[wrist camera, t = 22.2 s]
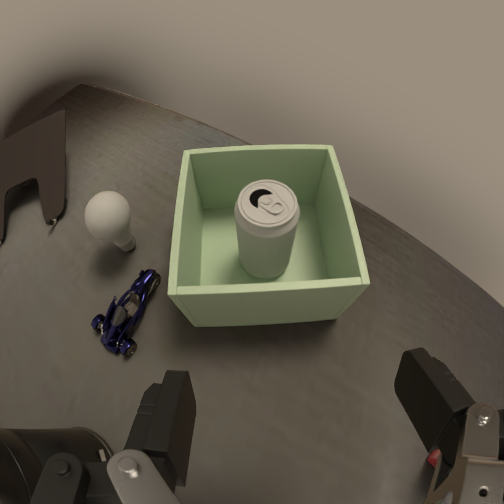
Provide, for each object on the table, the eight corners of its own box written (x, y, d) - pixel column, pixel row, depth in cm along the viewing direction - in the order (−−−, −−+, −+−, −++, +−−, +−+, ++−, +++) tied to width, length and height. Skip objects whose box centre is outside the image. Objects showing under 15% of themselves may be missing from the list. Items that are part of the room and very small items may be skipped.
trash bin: (194, 327, 34) (167, 295, 24) (199, 208, 43) (183, 150, 32) (337, 319, 35) (370, 283, 24) (317, 203, 43) (332, 144, 32)
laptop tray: (7, 252, 47) (-18, 250, 37) (4, 158, 47) (-18, 147, 38) (87, 224, 49) (64, 217, 40) (79, 122, 49) (61, 103, 40)
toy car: (127, 363, 32) (113, 359, 29) (94, 335, 34) (79, 327, 30) (178, 289, 37) (170, 277, 33) (143, 265, 38) (133, 252, 35)
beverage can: (261, 228, 40) (262, 166, 29) (299, 255, 38) (314, 198, 27) (229, 260, 38) (218, 204, 27) (268, 291, 36) (273, 242, 25)
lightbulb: (152, 228, 41) (126, 179, 31) (144, 266, 38) (111, 222, 29) (117, 228, 41) (86, 182, 32) (107, 264, 39) (69, 223, 29)
